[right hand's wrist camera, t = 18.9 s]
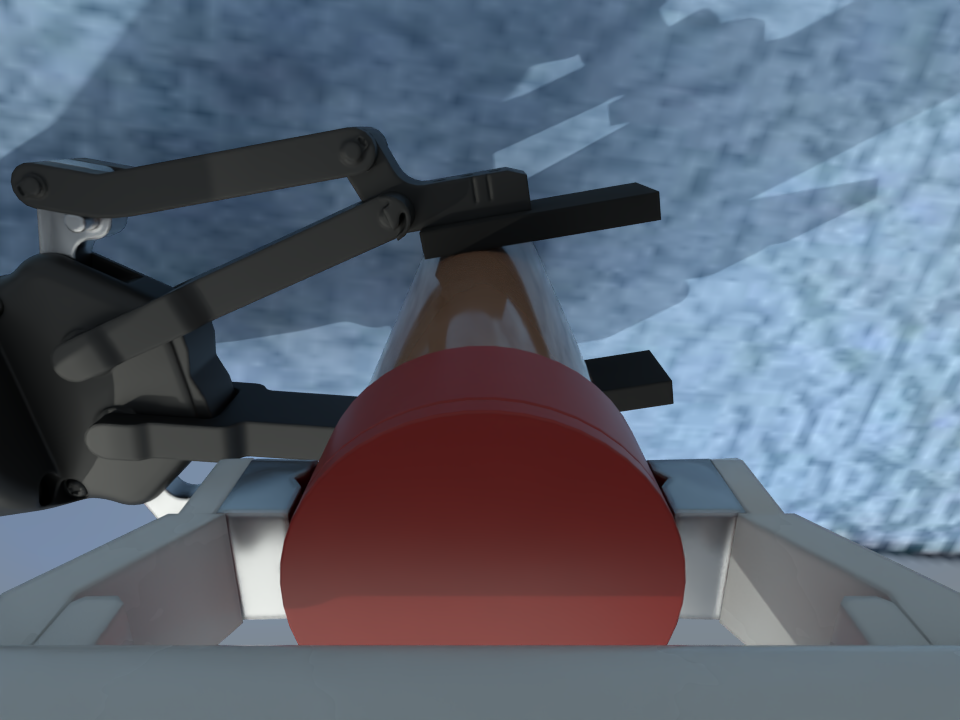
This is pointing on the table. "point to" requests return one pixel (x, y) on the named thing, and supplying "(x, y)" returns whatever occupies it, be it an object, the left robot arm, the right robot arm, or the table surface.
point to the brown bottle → (482, 309)
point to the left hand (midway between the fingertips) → (652, 292)
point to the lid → (482, 514)
